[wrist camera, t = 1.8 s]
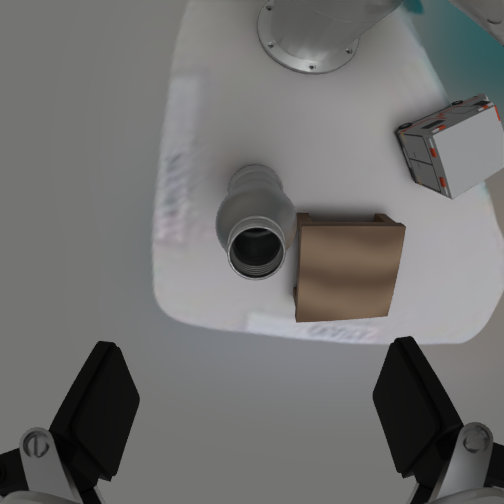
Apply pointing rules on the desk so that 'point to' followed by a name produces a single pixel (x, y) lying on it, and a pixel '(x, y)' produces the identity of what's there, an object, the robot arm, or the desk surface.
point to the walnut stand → (346, 268)
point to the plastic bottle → (256, 223)
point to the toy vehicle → (455, 146)
